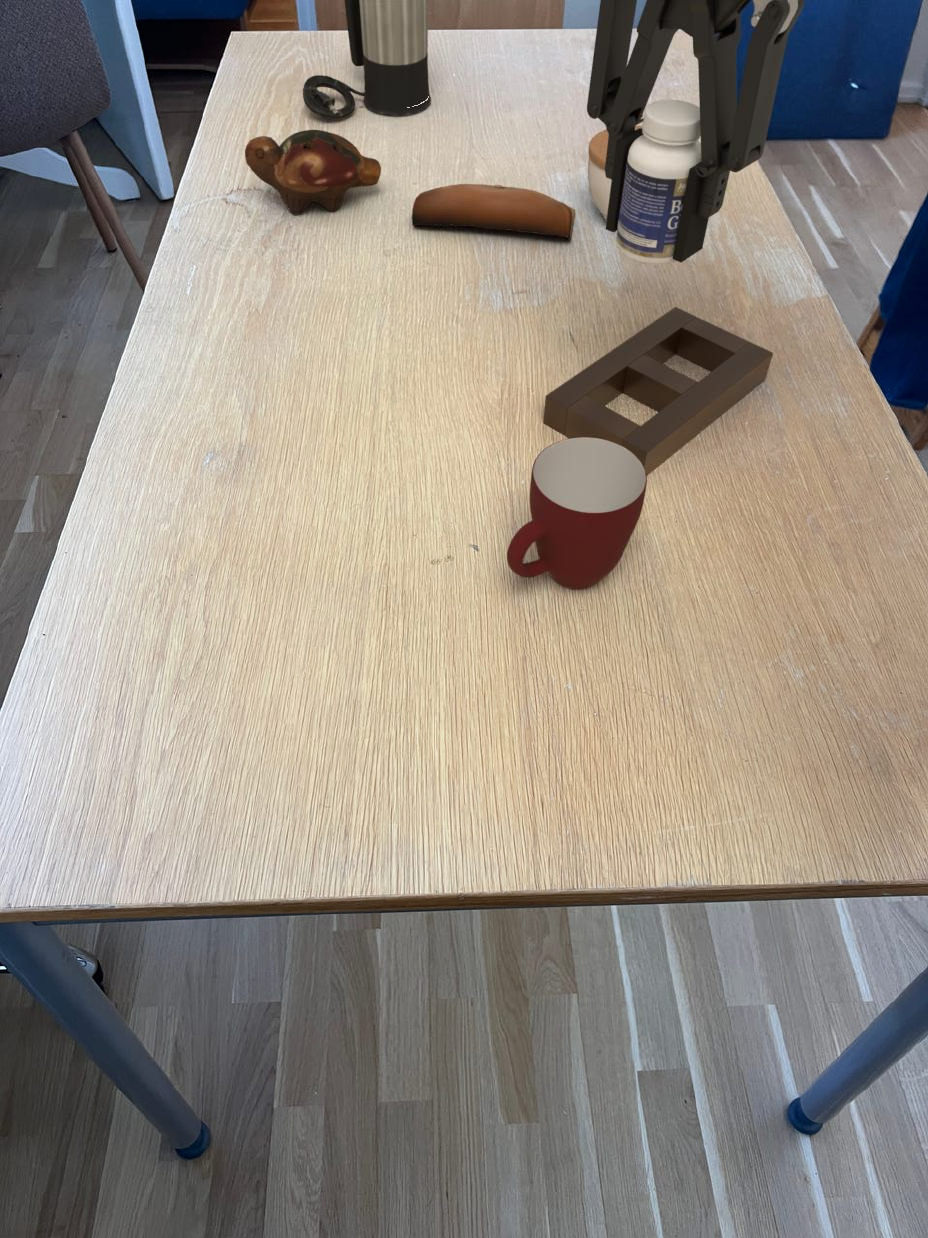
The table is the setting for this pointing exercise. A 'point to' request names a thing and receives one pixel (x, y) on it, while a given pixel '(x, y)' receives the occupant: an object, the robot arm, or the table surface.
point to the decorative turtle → (311, 168)
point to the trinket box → (599, 171)
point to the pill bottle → (658, 181)
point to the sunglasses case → (493, 209)
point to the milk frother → (381, 60)
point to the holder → (659, 386)
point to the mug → (580, 511)
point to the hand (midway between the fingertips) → (653, 237)
